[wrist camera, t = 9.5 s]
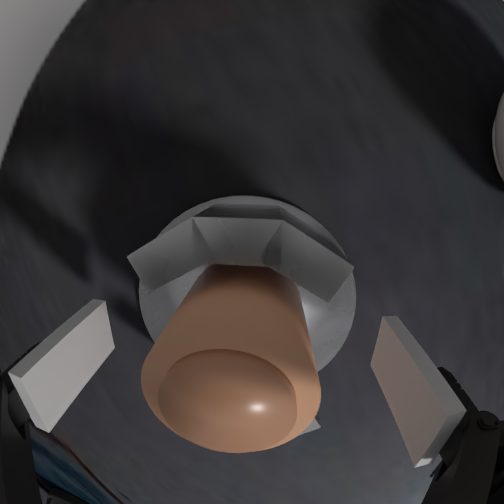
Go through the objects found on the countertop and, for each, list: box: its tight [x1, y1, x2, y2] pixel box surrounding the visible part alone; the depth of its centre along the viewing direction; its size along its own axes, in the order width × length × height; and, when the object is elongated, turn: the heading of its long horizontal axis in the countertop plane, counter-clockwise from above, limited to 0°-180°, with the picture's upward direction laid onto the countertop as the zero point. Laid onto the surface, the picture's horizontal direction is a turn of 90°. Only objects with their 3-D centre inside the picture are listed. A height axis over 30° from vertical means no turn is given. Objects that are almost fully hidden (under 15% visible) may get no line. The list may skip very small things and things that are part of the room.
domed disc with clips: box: [127, 195, 356, 435], centre depth 13 cm, size 12×12×5 cm
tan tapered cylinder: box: [141, 264, 321, 453], centre depth 12 cm, size 6×6×8 cm
